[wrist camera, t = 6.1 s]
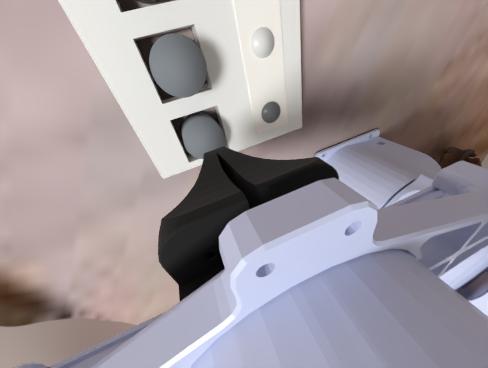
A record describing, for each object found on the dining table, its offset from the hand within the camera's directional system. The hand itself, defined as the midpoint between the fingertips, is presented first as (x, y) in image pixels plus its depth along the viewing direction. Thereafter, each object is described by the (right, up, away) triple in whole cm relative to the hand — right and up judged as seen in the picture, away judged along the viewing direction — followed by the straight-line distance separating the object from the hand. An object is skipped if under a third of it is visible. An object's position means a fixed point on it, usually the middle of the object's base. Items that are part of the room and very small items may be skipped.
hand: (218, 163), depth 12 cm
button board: (-1, +8, +3) cm, 9 cm away
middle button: (-3, +7, +1) cm, 8 cm away
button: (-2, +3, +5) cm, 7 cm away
